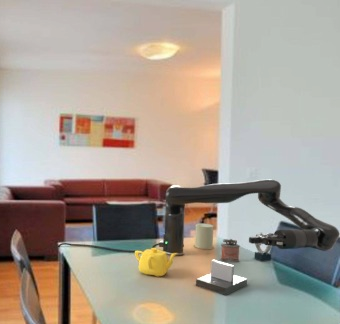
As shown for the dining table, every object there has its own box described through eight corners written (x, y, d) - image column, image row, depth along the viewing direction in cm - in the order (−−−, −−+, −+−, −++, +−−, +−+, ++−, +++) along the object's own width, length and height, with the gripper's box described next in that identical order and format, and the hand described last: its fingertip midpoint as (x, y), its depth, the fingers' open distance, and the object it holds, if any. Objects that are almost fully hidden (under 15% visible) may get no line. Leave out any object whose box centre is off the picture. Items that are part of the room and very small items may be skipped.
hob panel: (226, 295, 135) (226, 288, 135) (195, 285, 145) (195, 278, 145) (247, 285, 146) (248, 278, 146) (217, 276, 156) (217, 270, 155)
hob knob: (233, 281, 143) (234, 264, 143) (231, 282, 142) (232, 265, 141) (212, 275, 149) (213, 259, 149) (210, 276, 148) (211, 260, 148)
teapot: (162, 267, 166) (163, 243, 166) (177, 277, 154) (178, 251, 153) (133, 269, 162) (133, 245, 162) (146, 279, 150) (147, 253, 149)
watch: (260, 256, 187) (261, 234, 186) (273, 261, 179) (274, 237, 179) (251, 257, 185) (252, 234, 184) (264, 262, 177) (265, 238, 177)
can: (192, 244, 206) (192, 222, 206) (208, 244, 207) (209, 222, 207) (198, 249, 197) (199, 226, 197) (215, 249, 198) (216, 226, 197)
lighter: (237, 260, 180) (238, 238, 179) (239, 262, 176) (240, 240, 176) (219, 259, 180) (220, 238, 180) (221, 261, 177) (222, 239, 177)
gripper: (302, 253, 142) (260, 255, 138) (277, 244, 155) (239, 245, 151) (303, 233, 142) (261, 234, 138) (278, 225, 154) (240, 226, 151)
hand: (250, 240), depth 145 cm, fingers closed
